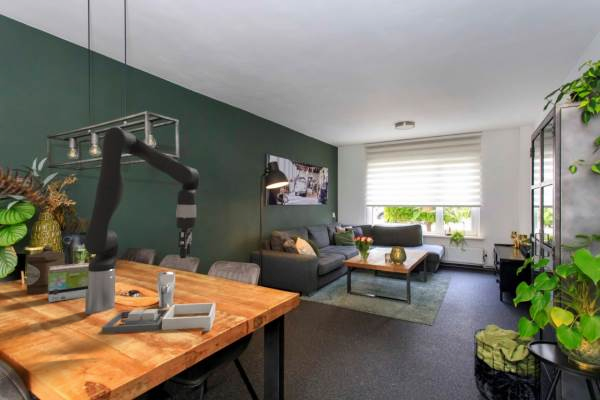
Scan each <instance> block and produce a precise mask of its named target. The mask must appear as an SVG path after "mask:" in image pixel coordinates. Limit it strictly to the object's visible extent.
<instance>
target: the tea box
mask: <svg viewBox="0 0 600 400" xmlns="http://www.w3.org/2000/svg"><path fill="white" fill-rule="evenodd" d="M88 266H89V263H88V262H84V263H83V262H81V263H72V264H71V263H70V264H65V265H60V266H50V267H49V276H48V293H47V299H48V303H53V302H61V301H64V300H73V299H80V298H85V295H86V290H87V289H88Z"/></svg>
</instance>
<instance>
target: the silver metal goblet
mask: <svg viewBox="0 0 600 400" xmlns="http://www.w3.org/2000/svg"><path fill="white" fill-rule="evenodd" d="M156 284H157V285H156V287H157V293H158V294H157V295H158V298H159V299H158V300H159V301H158V302H159V303H158V307H159V308H160V309H161V308H162V309H164V308H165V309H166V308H171V307H172V306H173V305H174V293H175V289H176V272H175V271H171V270H168V271H160V272H158V273H157V283H156Z"/></svg>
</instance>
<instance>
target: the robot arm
mask: <svg viewBox="0 0 600 400" xmlns="http://www.w3.org/2000/svg"><path fill="white" fill-rule="evenodd" d="M123 154H129V155H132V156H134V157H137V158H139V159H141V160H143V161H145V162H146V163H147V164H148V165H150V166H151V167H152V168H154V169H156V170H158V171H160V172H161V173H163V174H166V175H167V176H169V177H170V178H172V179H173V180H174V181H176V182H179V183H181V184H182V186H181V190H179V191H178V192H177V201H176V202H177V203H176V204H177V205H176V206H177V207H176V212H175V213H176V214H175V216H176V217H175V218H176V219H175V227H176V228H177V229H181V231H179V233H178V248H179V259H186V258H187V255H190V254H191V245H192V244H193V243H192V242H193V239H192V238H193V229H195V228H196V226H197V192H198V188H199V184H200V174H199V171H198V170H197V169H196V168H194V167H191V166H187V165H185V164H183V163H181V162H179V161H178V160H176V158H173V157H172V156H170V155H169V154H166V153H165V152H162V151H160V150H158V149H156V148H155V147H154V148H153V147H152V146H149V145H148V144H146V143H145V142H144V141H142V140H141V139H139V137H137V136H135V134H134V133H132V132H130V131H128V130H125V129H123V128H120V127H117V126H114V127H113V126H112V127H110V128H108V129H107V130H106V132H105V134H104V136H103V143H102V156H101V166H100V170H99V177H98V182H97V185H96V191H95V198H94V203H93V208H92V213H91V216H90V220H89V224H88V227H87V230H86V234H85V236H84V240H83V246H84V249H85V251H86V252H87V253H89V254H90V255H95V256H94V258H93V259H91V261H90V263H88V264H89V266H88V289H87V290H86V295H85V297H84V298H85V300H84V301H85V302H84V305H85V307H84V309H85V310H84V311H85V312H84V314H85V315H89V316H92V315H93V314H94V313H95V314H96V313H100V312H105V311H109V310H111V309H114V308H115V306H116V303H115V302H116V264H117V261H118V260H119V259H118V257H119V246H120V245H119V236H118V234H117V233H116V232H115V231H114V230H112V229H109V227H110V223H111V219H112V217H113V216H114V215H115V213H116V212H117V209H118V208H119V206H120V205H121V202H122V200H123V198H124V191H125V180H124V175H123V171H122V167H121V161H122V160H121V159H122V155H123Z"/></svg>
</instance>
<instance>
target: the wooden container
mask: <svg viewBox="0 0 600 400" xmlns="http://www.w3.org/2000/svg"><path fill="white" fill-rule="evenodd" d="M26 262H27V265H26V293H27V294H29V295H44V294H48V276H49V267H50V266H60V265H66V253H65V252H64V251H52V247H50V246H49V245H48V246H44V247H42V251H41V252H40V253H32V254H28V255H27V257H26Z"/></svg>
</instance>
